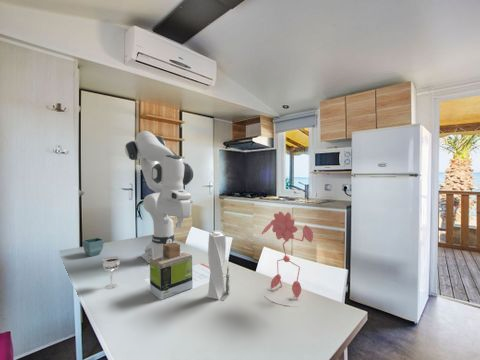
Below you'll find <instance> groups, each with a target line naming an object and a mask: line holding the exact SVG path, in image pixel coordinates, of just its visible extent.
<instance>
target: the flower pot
mask: <svg viewBox="0 0 480 360" xmlns="http://www.w3.org/2000/svg"><path fill="white" fill-rule="evenodd" d="M104 244H105V240H104V239H103V238H99V237H95V238H89V239H88V238H87V239H83V240H82V247H83V251H84V253H85V254H86V255H87V256H89V257H94V256H98V255H100V254H101V252H102V251H103V249H104Z"/></svg>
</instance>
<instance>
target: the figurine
mask: <svg viewBox="0 0 480 360" xmlns="http://www.w3.org/2000/svg"><path fill="white" fill-rule="evenodd" d="M273 218H274V219H272V220H271V221H270V222H269V223H268V224H267V225H266V226H265V227H264V228H263V230H262V231H261V235H263V234H265V233H266V232H268V231H269V230H270V229H271V228H272V230H271V231H272V233H275V237H276V239H277V240H281V239H283V240H284V242H282V247H283V248H282V249H283V252H284V255H283V258H281V259H278V260H277V263H276V264H277V266H276V267H277V271H279V261H284V262H285V263H289V262H290V263H291V264H292V265H294V266H296V267H298V271H297V277H296V280H295V281H294V282H293V284H292V285H291V291H292V294H293V296H294V297H295V299H298V298H299V296H300V295H301V293H302V285H301V283H300V282H299V281H298V280H299V274H300V270H301V269H300V268H301V267H300V266H299V265H298V264H295V262H292V261H291V259H290V256H289V255H287V252H286V248H285V244H286V243H287V242H289V240H297V241H299V242H304V239H305V240H306V241H308V242H309V243H312V241H313V238H314V232H313V230H312V228H311V227H310V226H308V225H307V224H304V226H303V228H302V238H301V239H299V238H297V237H295V235H294V233H296V232H298V230H299V229H298V227H297V226H296V225H295V220H294V218H292V215H291V213H290V212H289V211H288V212H286V213H283V212H282V211H279V212H278V213H274V214H273ZM281 280H282V277H281V274H279V273H277V274H276V275H275V276H274V277H272V279H271V281H270V288H269V289H270V290H271V289H274V288H275V287H277V286H278V285H279V284H280V287H281V286H282V287H283V284H282V281H281ZM263 296H264V298H265V299H267V300H268V301H270V302H271V303H272V304H277V305H280V306H281V305H282V304H280V303H278V302H274V301H272V300H270V299H269V298H267V297H266V296H265V295H263ZM283 306H284V307H289V305H285V304H283Z"/></svg>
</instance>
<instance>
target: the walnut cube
mask: <svg viewBox="0 0 480 360" xmlns="http://www.w3.org/2000/svg"><path fill="white" fill-rule="evenodd" d="M174 242H175V241H174ZM174 242H172V243H168V244H163V256H164V257H166V258H168V259H172V258H175V257H178V256H180V251H181V244H180V243H177V242H175V243H174Z"/></svg>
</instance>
